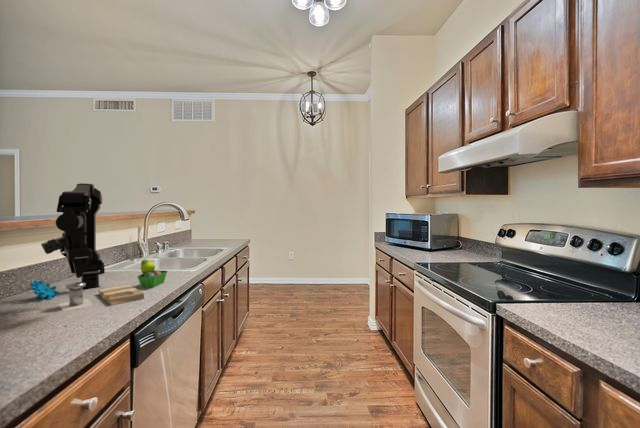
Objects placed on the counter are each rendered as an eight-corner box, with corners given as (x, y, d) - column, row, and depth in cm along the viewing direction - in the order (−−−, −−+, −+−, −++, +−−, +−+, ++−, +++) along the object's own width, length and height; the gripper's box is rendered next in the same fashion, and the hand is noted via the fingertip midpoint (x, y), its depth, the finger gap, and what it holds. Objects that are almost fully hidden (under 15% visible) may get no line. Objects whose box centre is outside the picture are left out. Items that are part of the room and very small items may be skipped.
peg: (65, 304, 102) (64, 284, 102) (84, 301, 106) (83, 281, 106) (67, 308, 98) (67, 287, 98) (87, 304, 102) (87, 284, 102)
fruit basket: (154, 288, 126) (154, 261, 126) (133, 288, 126) (133, 261, 126) (168, 281, 138) (168, 257, 137) (149, 281, 138) (149, 256, 138)
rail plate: (98, 297, 114) (98, 288, 114) (129, 291, 121) (129, 283, 121) (111, 308, 102) (111, 299, 102) (143, 301, 109) (143, 293, 109)
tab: (58, 307, 103) (58, 303, 103) (87, 302, 108) (87, 298, 108) (63, 314, 96) (62, 311, 96) (94, 308, 102) (93, 305, 102)
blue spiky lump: (49, 300, 105) (26, 280, 104) (34, 313, 104) (11, 293, 103) (68, 295, 116) (48, 277, 115) (54, 307, 115) (34, 289, 114)
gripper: (39, 228, 102) (40, 274, 102) (46, 232, 89) (47, 285, 90) (81, 227, 110) (82, 269, 110) (92, 230, 97) (93, 278, 98)
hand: (76, 275), depth 102 cm, fingers open, 9 cm apart
